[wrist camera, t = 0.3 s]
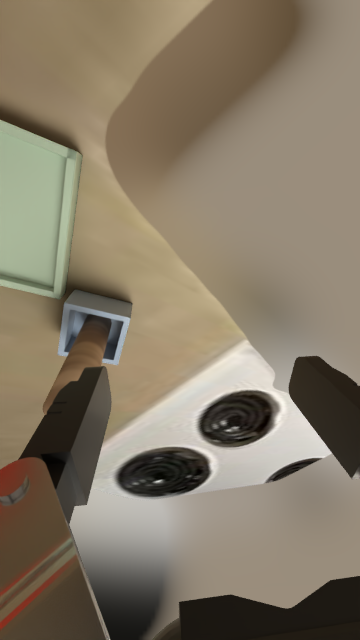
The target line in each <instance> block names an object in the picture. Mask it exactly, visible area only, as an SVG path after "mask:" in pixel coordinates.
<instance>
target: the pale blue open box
mask: <svg viewBox="0 0 360 640" xmlns="http://www.w3.org/2000/svg"><path fill="white" fill-rule="evenodd" d="M131 311H132V303H128V302H124V301H120V300H116V299H112V298H108V297H104V296H100V295H96V294H92V293H88V292H84V291H80V290H76V289H75V290H74V291H73V292H72V293H71V295H70V296H69V297H68V299H67V300H66V301H65V302H64V309H63V317H62V325H61V333H60V341H59V349H58V355H61V356H68V354H69V352H70V350H71V348H72V346H73V344H74V342H75V340H76V338H77V336H78V333H79V331H80V329H81V327H82V325H83V323H84V321H85V319H86V317H87V316H88V315H89V314H93V315H97V316H102V317H106V318H110V319H111V322H112V325H111V329H110V333H109V337H108V341H107V344H106V348H105V352H104V356H103V360H102V362H103V363H109V364H115V365H118V362H119V358H120V355H121V351H122V347H123V344H124V340H125V337H126V333H127V329H128V326H129V322H130V319H131Z"/></svg>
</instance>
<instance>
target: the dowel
mask: <svg viewBox="0 0 360 640" xmlns="http://www.w3.org/2000/svg"><path fill="white" fill-rule="evenodd" d="M111 325H112V322H111V319H110V318H106V317H102V316H97V315H93V314H89V315H88V316H87V317H86V319H85V321H84V323H83V325H82V327H81V329H80V331H79V333H78V336H77V338H76V340H75V342H74V344H73V346H72V348H71V350H70V352H69V354H68V356H67V358H66V360H65V362H64V364H63V366H62V368H61V370H60V372H59V374H58V376H57V378H56V380H55V382H54V384H53V386H52V388H51V390H50V392H49V394H48V396H47V398H46V400H45V402H44V404H43V412H44V414H45V415H46V414H47V411H48V409H49V407H50V406H51V405H52V402H53V401H54V399H55V397H56V396H57V394H58V392H59V391H60V390H61V389H62V388H63V387H64V386H65V385H67V384H68V383H69V382H70V381H78V379H79V378H80V376H81V374H82V372H83V370H84V368H85V367H100V366H101V363H102V360H103V356H104V352H105V348H106V344H107V341H108V337H109V333H110V329H111Z"/></svg>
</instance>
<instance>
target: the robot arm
mask: <svg viewBox="0 0 360 640" xmlns="http://www.w3.org/2000/svg"><path fill="white" fill-rule="evenodd" d="M289 394H290V397H291V399H292V400H293V402H294V403H295V404H296V406H297V407H298V408H299V410H300V411H301V412H302V414H303V415H304V416H305V418H306V419H307V420H308V422H309V423H310V424H311V426H312V427H313V428H314V429H315V431H316V432H317V433H318V435H319V436H320V437H321V439H322V440H323V441H324V443H325V444H326V445H327V447H328V448H329V449H330V451H331V452H332V453H333V455H334V456H335V457H336V459H337V460H338V461H339V462H340V464H341V465H342V466H343V468H344V469H345V470H346V472H347V473H348V474H349V476H350V477H351V478H352V479H357V478H360V386H358V385H357V383H356V382H354V381H353V380H352V379H351V378H349V377H348V376H347V375H345V374H344V373H341V372H340V371H338V370H336V369H334V368H332V367H331V366H330V365H329V364H327V363H326V362H325V361H324V360H323V359H321V358H320V357H318V356H306V357H298V358H297V359H296V360H295V363H294V367H293V372H292V375H291V379H290V383H289ZM110 411H111V392H110V386H109V380H108V374H107V369H106V367H105V366H100V367H85V368H84V370H83V372H82V374H81V376H80V378H79V379H78V381H70V382H69V383H68V384H67V385H65V386H64V387H63V388H62V389H61V390H60V391H59V392H58V394H57V396H56V397H55V399H54V401H53V402H52V405H51V406H50V407H49V409H48V411H47V414H46V415H45V416H44V417H43V419H42V421H41V423H40V424H39V426H38V428H37V429H36V431H35V433H34V434H33V436H32V438H31V439H30V441H29V443H28V444H27V446H26V448H25V450H24V451H23V453H22V455H21V456H20V458H19V459H18V460H17V461H14V462H12V463H10V464H8V465H7V466H5V467H4V468H2V469H1V470H0V640H110V638H109V635H108V632H107V629H106V626H105V624H104V621H103V618H102V616H101V613H100V610H99V607H98V605H97V602H96V599H95V597H94V593H93V591H92V588H91V585H90V582H89V579H88V577H87V574H86V571H85V568H84V565H83V563H82V560H81V557H80V554H79V551H78V548H77V546H76V543H75V540H74V537H73V534H72V532H71V529H70V526H69V523H70V520H71V516H72V513H73V510H74V506H79V505H87V501H88V498H89V494H90V490H91V486H92V482H93V478H94V474H95V470H96V466H97V462H98V459H99V455H100V451H101V447H102V443H103V439H104V435H105V431H106V427H107V423H108V419H109V415H110ZM152 640H360V576H357V577H350V578H343V579H336V580H330V581H329V582H327V583H326V584H325V585H323V586H322V587H321V588H319V589H318V590H316V591H315V592H314V593H312V594H311V595H309V596H308V597H307V598H305V599H304V600H302V601H301V602H300V603H298V604H297V605H295V606H294V607H292V608H289V609H285V608H280V607H276V606H272V605H269V604H264V603H261V602H257V601H253V600H250V599H246V598H242V597H238V596H234V595H224V596H218V597H210V598H203V599H197V600H189V601H182V602H179V618H178V619H176V620H175V621H173V622H172V623H170V624H169V625H167V626H166V627H165V628H164V629H163V630H162V631H160V632H159V633H158V634H157V635H156V636H155V637H154V638H153V639H152Z"/></svg>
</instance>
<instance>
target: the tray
mask: <svg viewBox="0 0 360 640" xmlns="http://www.w3.org/2000/svg"><path fill="white" fill-rule="evenodd" d="M81 164H82V155H81V154H79V153H78V152H77V151H74V150H72V149H69V148H67V147H65V146H62V145H60V144H57V143H55V142H52V141H50V140H48V139H45V138H43V137H40V136H38V135H36V134H33V133H31V132H28V131H26V130H24V129H21V128H19V127H16V126H14V125H12V124H9V123H7V122H4V121H2V120H0V286H5V287H9V288H13V289H18V290H22V291H26V292H30V293H35V294H39V295H43V296H47V297H52V298H56V299H61V297H62V296H63V295H64V294H65V292H66V284H67V276H68V268H69V260H70V252H71V244H72V236H73V228H74V220H75V212H76V204H77V196H78V188H79V180H80V172H81Z"/></svg>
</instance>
